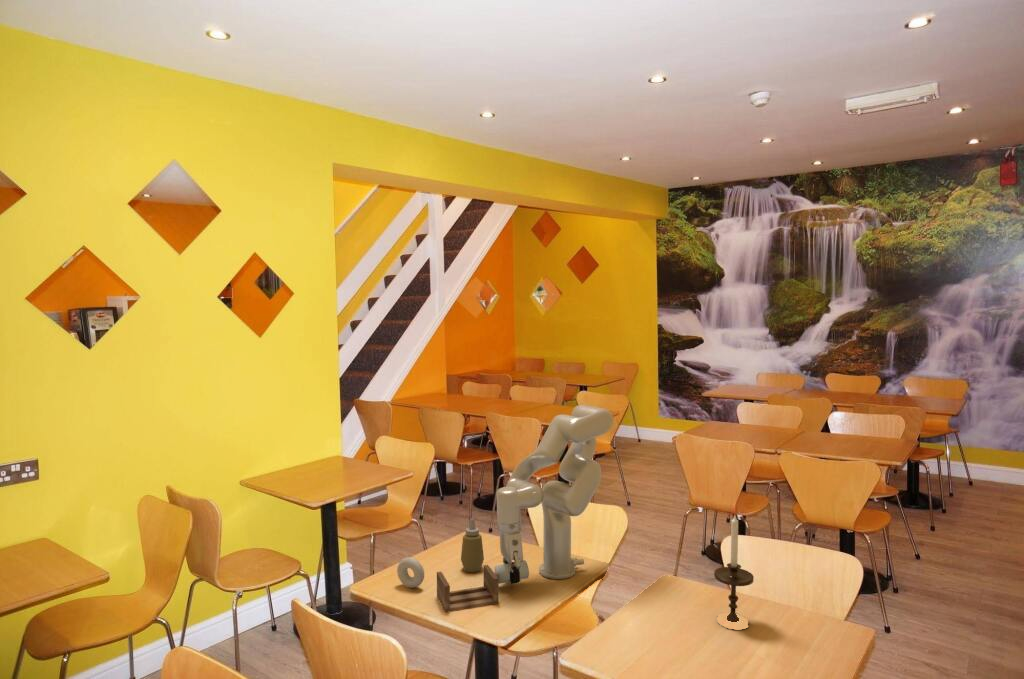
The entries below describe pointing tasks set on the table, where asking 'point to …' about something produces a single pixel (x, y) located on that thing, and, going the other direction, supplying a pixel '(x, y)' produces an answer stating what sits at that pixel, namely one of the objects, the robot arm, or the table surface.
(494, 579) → the cradle
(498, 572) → the roll
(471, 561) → the squeeze bottle
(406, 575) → the donut
